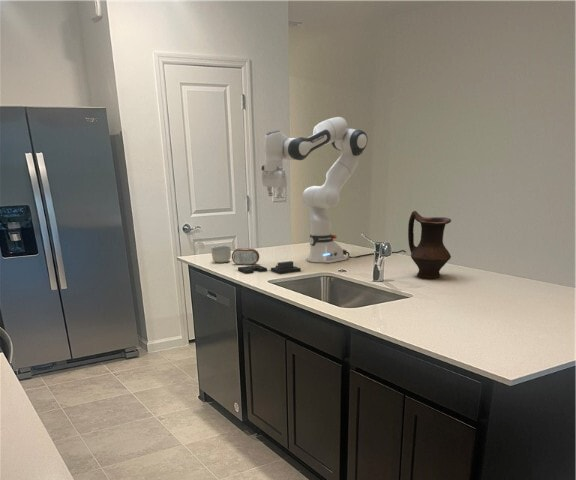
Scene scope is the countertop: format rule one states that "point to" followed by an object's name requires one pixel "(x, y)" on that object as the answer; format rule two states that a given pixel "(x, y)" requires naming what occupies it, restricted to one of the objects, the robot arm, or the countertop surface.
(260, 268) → the base pad
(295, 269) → the loose pad
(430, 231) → the jug
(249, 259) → the tin
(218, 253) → the teacup
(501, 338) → the countertop surface
